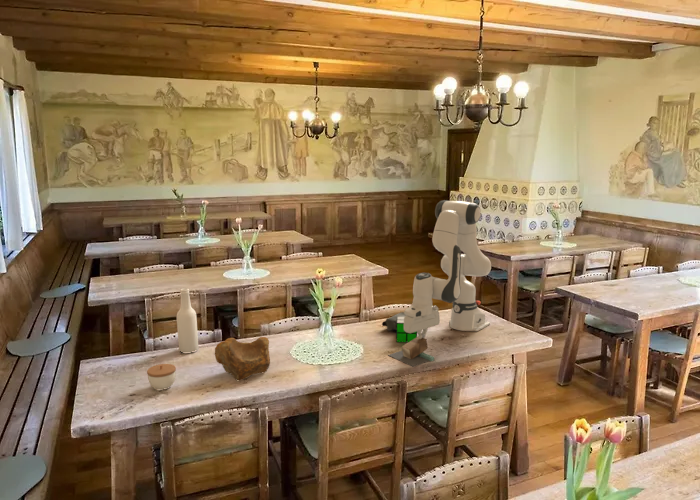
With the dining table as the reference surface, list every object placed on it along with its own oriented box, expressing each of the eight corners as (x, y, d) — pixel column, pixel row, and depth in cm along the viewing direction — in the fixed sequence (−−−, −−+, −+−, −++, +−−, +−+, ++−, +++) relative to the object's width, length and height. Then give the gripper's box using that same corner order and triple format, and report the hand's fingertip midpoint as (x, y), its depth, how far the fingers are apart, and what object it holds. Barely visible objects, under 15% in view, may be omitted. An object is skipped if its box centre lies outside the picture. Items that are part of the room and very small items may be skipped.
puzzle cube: (416, 335, 266) (416, 316, 264) (417, 343, 256) (417, 323, 254) (396, 335, 267) (396, 316, 265) (396, 342, 257) (396, 322, 255)
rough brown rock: (217, 388, 211) (216, 354, 207) (214, 369, 226) (213, 337, 222) (275, 382, 218) (275, 349, 214) (268, 363, 233) (268, 332, 229)
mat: (403, 350, 247) (403, 349, 247) (429, 360, 234) (429, 360, 234) (388, 355, 241) (388, 355, 241) (413, 366, 228) (413, 366, 228)
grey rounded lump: (399, 321, 288) (399, 308, 286) (417, 325, 281) (417, 311, 280) (380, 331, 273) (380, 316, 272) (399, 335, 267) (399, 320, 265)
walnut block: (418, 336, 244) (401, 346, 238) (426, 339, 240) (409, 349, 234) (420, 345, 245) (403, 356, 239) (427, 348, 242) (411, 359, 235)
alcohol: (175, 353, 246) (170, 290, 240) (186, 346, 254) (182, 286, 248) (191, 355, 243) (187, 292, 237) (202, 348, 251) (198, 287, 246)
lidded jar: (182, 386, 211) (180, 364, 209) (157, 395, 203) (155, 373, 201) (168, 379, 218) (166, 357, 216) (143, 387, 210) (141, 365, 208)
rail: (405, 348, 249) (405, 345, 249) (434, 360, 235) (434, 356, 235) (402, 349, 248) (402, 346, 247) (431, 361, 234) (431, 358, 234)
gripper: (433, 303, 247) (432, 331, 250) (401, 311, 235) (401, 340, 238) (443, 306, 243) (442, 334, 245) (411, 314, 230) (411, 344, 233)
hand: (421, 337), depth 241 cm, fingers closed
